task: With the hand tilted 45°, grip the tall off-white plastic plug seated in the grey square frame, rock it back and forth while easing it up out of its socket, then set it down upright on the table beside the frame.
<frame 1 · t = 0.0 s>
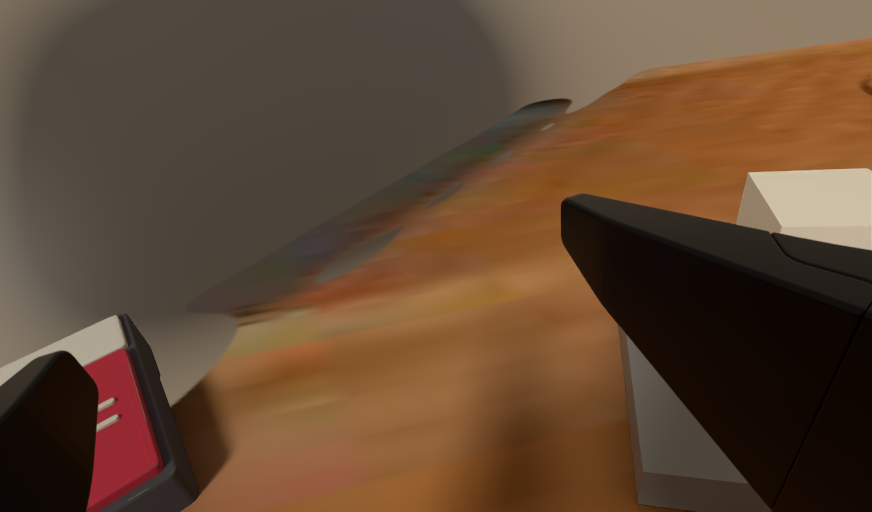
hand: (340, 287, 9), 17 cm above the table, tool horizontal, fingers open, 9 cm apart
grey square frame: (755, 400, 24), on the table
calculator: (77, 469, 28), on the table
plug: (757, 394, 24), resting on grey square frame
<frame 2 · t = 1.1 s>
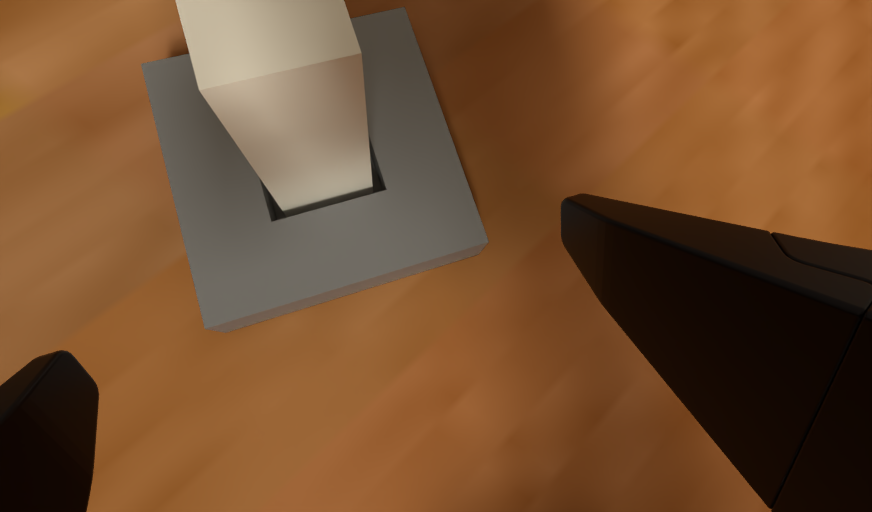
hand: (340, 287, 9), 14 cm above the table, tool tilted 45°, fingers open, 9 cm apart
grey square frame: (321, 174, 23), on the table
plug: (320, 170, 23), resting on grey square frame
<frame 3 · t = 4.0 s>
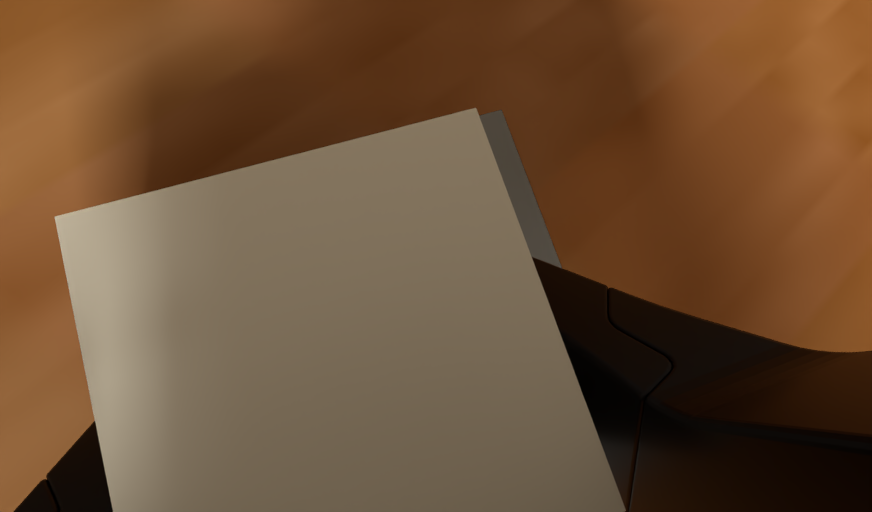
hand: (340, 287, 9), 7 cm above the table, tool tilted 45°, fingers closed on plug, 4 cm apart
grey square frame: (373, 360, 15), on the table
plug: (372, 360, 15), resting on grey square frame, touching gripper
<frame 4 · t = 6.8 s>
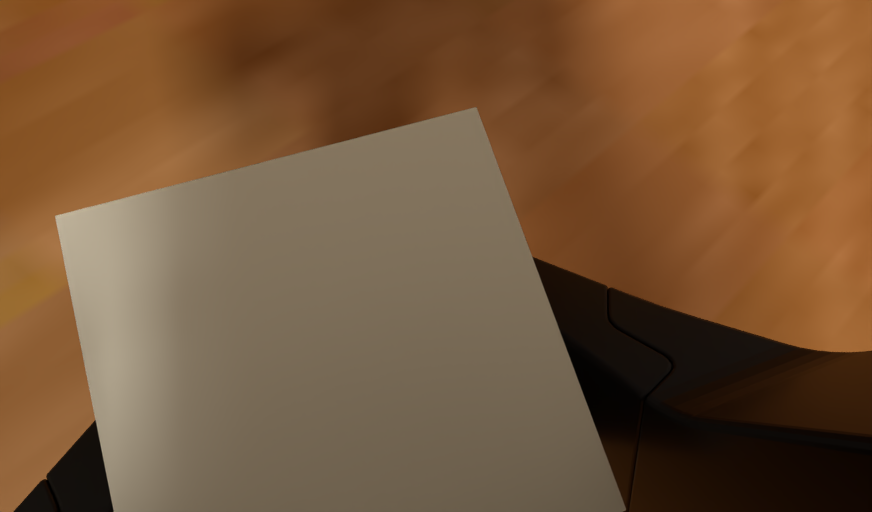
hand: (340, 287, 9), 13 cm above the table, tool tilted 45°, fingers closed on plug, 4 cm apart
plug: (373, 360, 15), point 7 cm above the table, touching gripper
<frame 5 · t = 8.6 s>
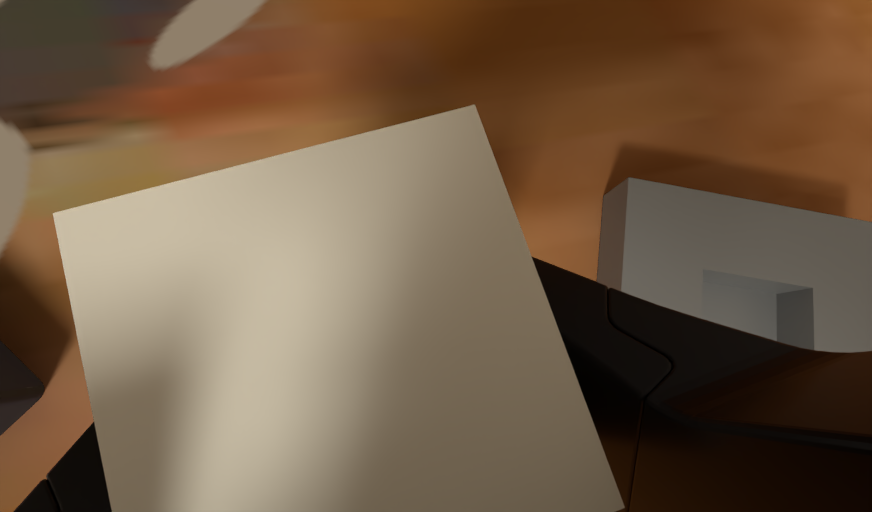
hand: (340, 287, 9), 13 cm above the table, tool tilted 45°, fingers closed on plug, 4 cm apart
grey square frame: (717, 339, 23), on the table
plug: (372, 359, 15), point 6 cm above the table, touching gripper
when the fingers open (8 cm above the table, at t = 9.8 s): plug drops 1 cm, on the table.
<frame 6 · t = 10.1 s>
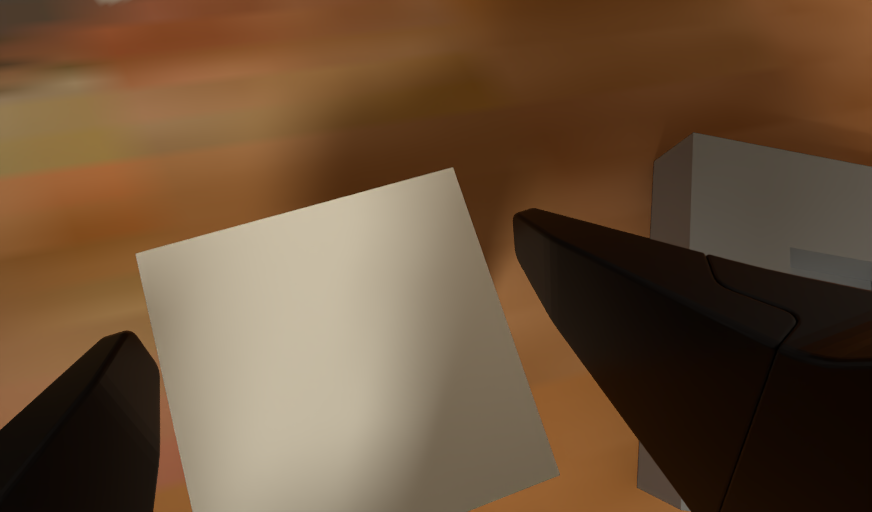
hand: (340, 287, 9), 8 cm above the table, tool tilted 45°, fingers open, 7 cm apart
grey square frame: (799, 337, 18), on the table
plug: (373, 360, 16), on the table
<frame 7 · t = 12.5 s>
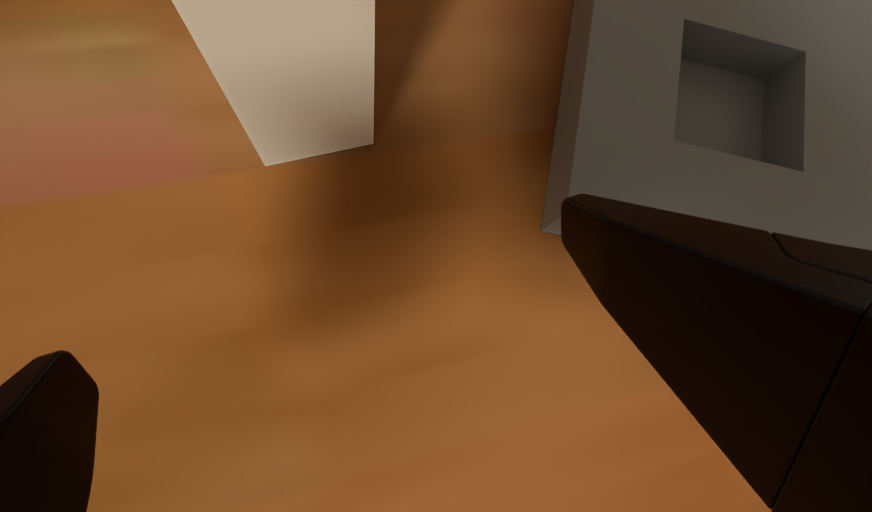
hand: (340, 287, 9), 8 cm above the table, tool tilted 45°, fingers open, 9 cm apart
grey square frame: (698, 125, 20), on the table
plug: (307, 105, 18), on the table
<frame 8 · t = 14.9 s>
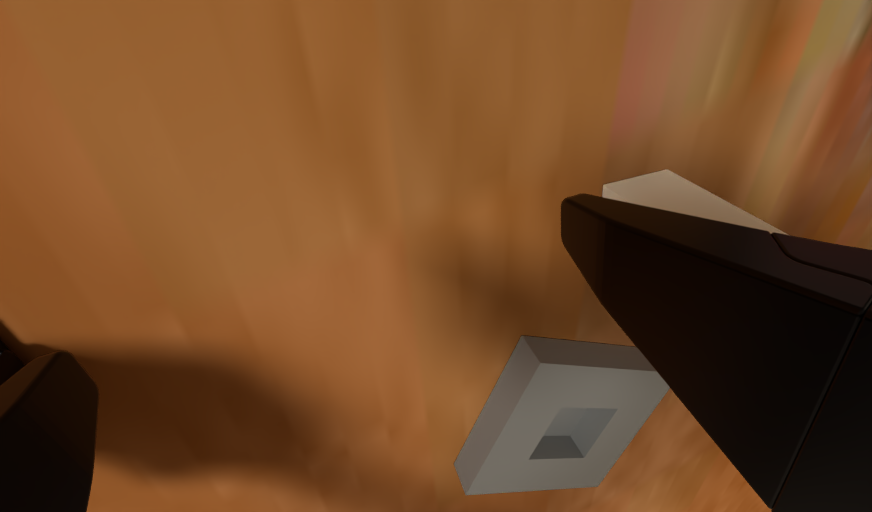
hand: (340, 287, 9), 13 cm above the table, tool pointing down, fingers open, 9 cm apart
grey square frame: (555, 406, 35), on the table
plug: (631, 209, 28), on the table
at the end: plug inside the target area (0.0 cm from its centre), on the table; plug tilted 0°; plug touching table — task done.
